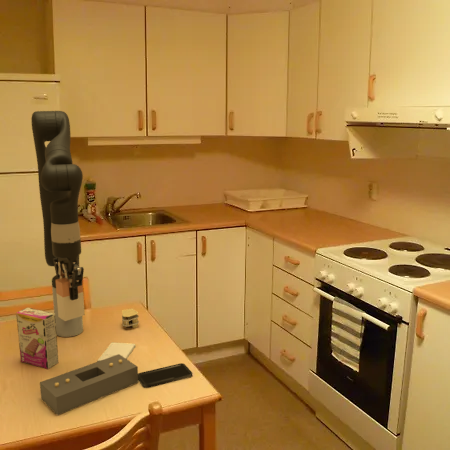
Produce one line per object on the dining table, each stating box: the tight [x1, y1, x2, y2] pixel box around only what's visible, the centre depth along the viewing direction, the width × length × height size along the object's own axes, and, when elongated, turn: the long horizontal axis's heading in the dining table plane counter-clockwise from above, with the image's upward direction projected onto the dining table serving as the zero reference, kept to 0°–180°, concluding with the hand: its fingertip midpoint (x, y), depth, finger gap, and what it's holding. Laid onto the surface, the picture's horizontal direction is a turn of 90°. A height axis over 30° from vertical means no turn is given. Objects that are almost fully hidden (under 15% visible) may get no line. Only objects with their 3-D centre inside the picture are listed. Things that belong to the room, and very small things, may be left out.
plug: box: [56, 277, 85, 321], centre depth 145 cm, size 4×6×11 cm, turn 133°
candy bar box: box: [15, 307, 59, 370], centre depth 156 cm, size 11×5×16 cm, turn 65°
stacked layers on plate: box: [121, 307, 140, 329], centre depth 184 cm, size 10×9×6 cm
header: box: [39, 354, 139, 416], centre depth 142 cm, size 10×24×6 cm, turn 132°
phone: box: [138, 362, 193, 389], centre depth 150 cm, size 8×1×15 cm
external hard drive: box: [96, 342, 136, 362], centre depth 163 cm, size 2×8×12 cm
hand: (70, 296), depth 145 cm, fingers closed on plug, 4 cm apart
